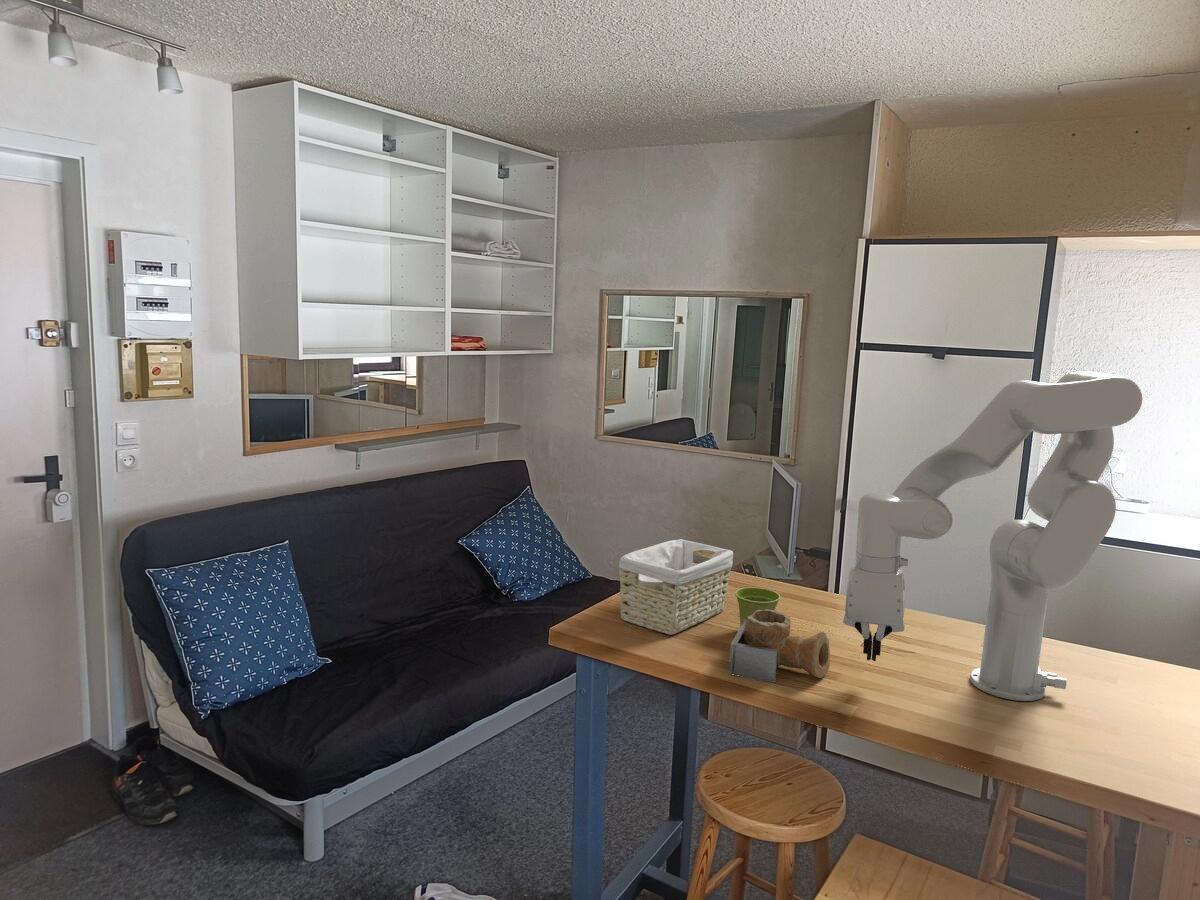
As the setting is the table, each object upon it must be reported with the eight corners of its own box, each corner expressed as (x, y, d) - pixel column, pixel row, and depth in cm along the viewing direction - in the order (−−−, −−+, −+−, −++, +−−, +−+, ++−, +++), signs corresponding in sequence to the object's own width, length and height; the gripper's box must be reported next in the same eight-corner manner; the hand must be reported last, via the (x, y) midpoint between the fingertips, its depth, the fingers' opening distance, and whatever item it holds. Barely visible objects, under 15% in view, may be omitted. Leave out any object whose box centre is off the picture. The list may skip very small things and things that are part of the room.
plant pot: (754, 645, 170) (757, 604, 169) (723, 629, 178) (726, 591, 176) (786, 636, 175) (790, 597, 174) (755, 622, 183) (758, 584, 182)
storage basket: (673, 595, 199) (677, 535, 197) (733, 612, 189) (737, 549, 187) (612, 621, 180) (615, 555, 178) (674, 641, 171) (678, 572, 168)
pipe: (820, 688, 152) (825, 635, 150) (735, 668, 159) (738, 618, 157) (830, 670, 160) (835, 620, 158) (748, 652, 167) (752, 604, 165)
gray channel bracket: (784, 654, 166) (787, 626, 165) (774, 682, 153) (776, 652, 152) (742, 647, 169) (744, 619, 168) (728, 674, 156) (730, 644, 155)
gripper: (921, 560, 151) (914, 656, 154) (836, 552, 156) (831, 644, 159) (921, 572, 144) (914, 672, 147) (832, 563, 149) (827, 659, 152)
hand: (871, 657), depth 153 cm, fingers closed
